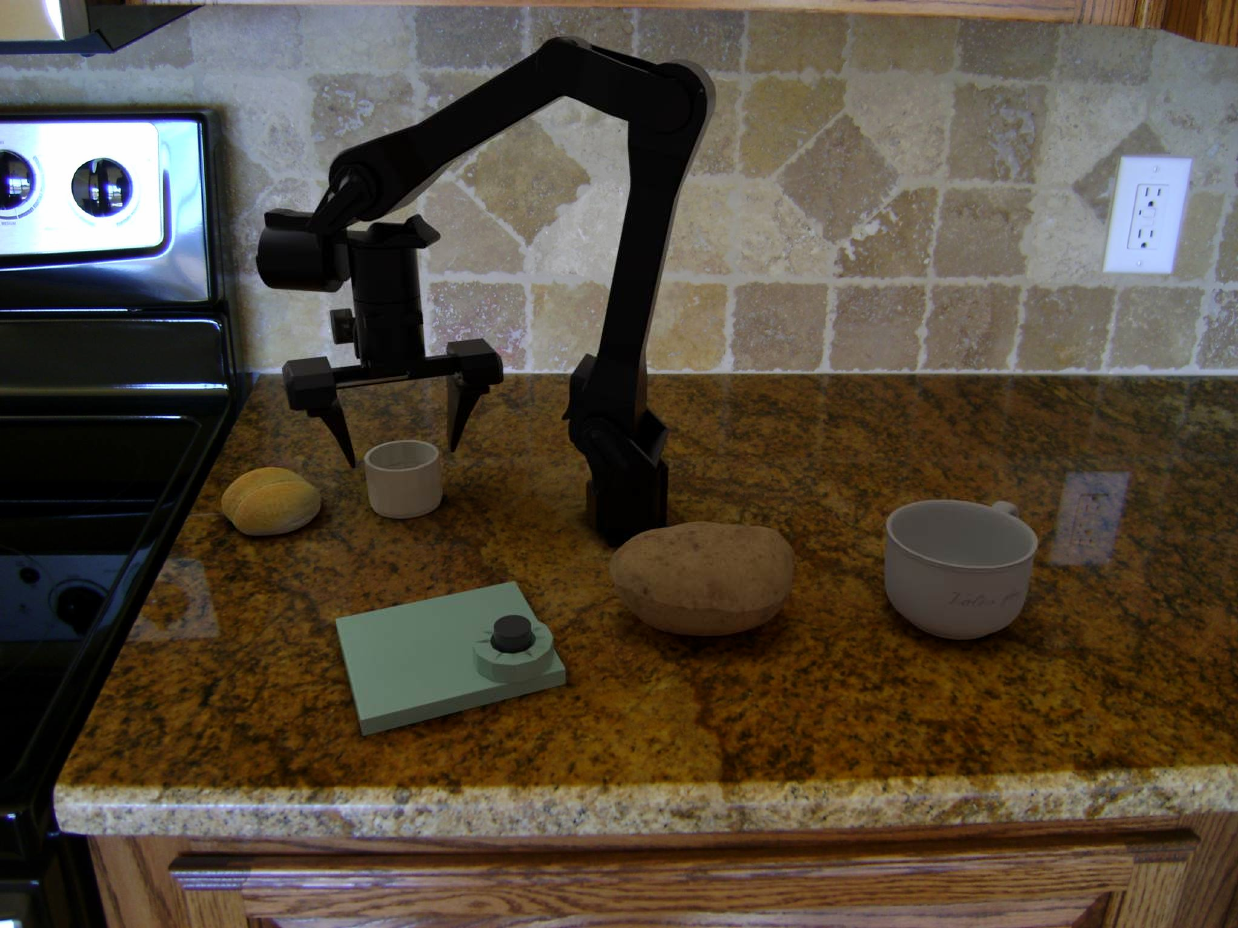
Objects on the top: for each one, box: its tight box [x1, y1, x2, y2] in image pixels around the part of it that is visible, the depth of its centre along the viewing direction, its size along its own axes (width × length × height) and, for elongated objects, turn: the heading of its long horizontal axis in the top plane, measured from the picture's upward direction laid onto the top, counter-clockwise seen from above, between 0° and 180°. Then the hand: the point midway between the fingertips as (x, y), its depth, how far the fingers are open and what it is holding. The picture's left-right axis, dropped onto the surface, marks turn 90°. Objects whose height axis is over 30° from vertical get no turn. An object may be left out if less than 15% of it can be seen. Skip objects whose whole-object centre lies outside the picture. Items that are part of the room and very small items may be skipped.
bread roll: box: [221, 466, 322, 537], centre depth 86 cm, size 8×9×4 cm
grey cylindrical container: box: [363, 439, 444, 520], centre depth 88 cm, size 7×7×5 cm
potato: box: [608, 520, 796, 637], centre depth 70 cm, size 10×14×8 cm
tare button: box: [493, 615, 532, 654], centre depth 65 cm, size 3×3×2 cm
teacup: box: [883, 499, 1039, 641], centre depth 72 cm, size 14×11×8 cm
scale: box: [335, 580, 567, 737], centre depth 67 cm, size 14×12×3 cm
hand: (403, 458), depth 87 cm, fingers open, 9 cm apart
